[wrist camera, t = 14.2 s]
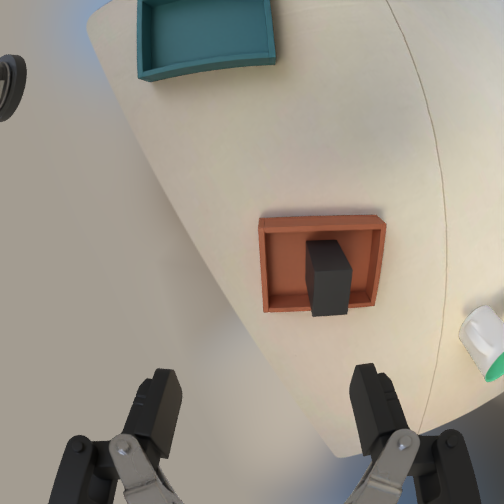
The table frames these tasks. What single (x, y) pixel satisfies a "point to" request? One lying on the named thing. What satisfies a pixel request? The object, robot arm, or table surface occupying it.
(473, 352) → the mug
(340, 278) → the block
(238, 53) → the teal bin
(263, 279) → the terracotta bin
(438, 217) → the table surface
